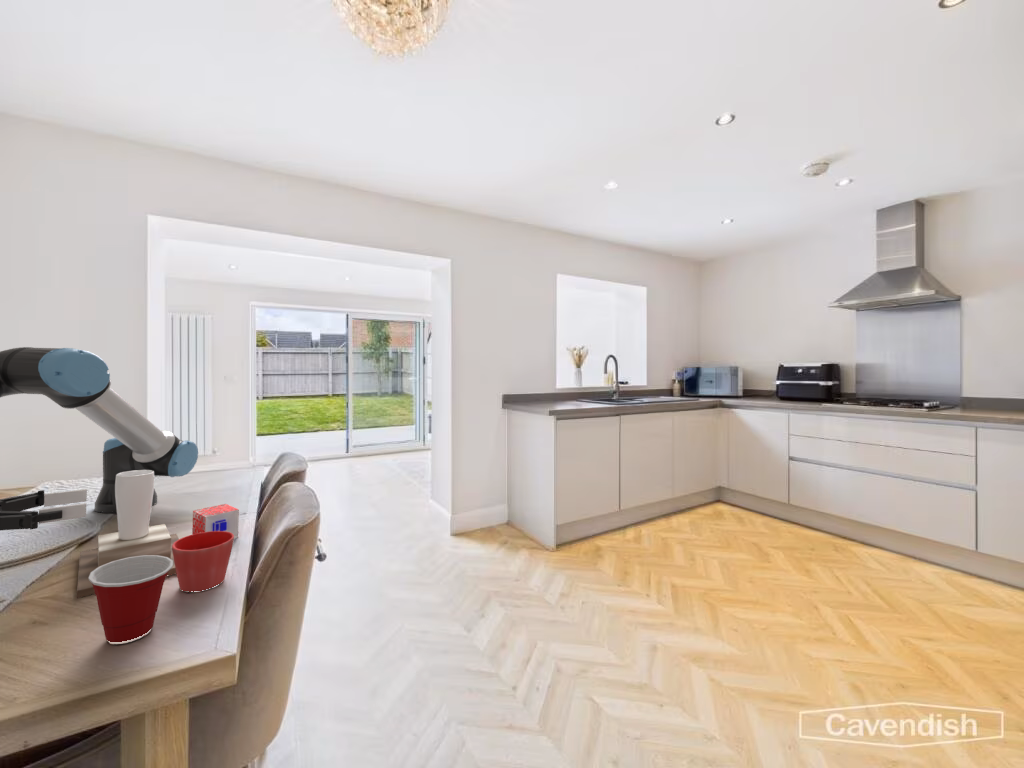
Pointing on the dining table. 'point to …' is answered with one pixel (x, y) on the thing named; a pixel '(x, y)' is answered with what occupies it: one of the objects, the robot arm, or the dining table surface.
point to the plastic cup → (129, 594)
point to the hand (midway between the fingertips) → (86, 502)
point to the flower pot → (202, 559)
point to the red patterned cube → (216, 519)
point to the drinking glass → (134, 503)
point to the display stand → (123, 553)
